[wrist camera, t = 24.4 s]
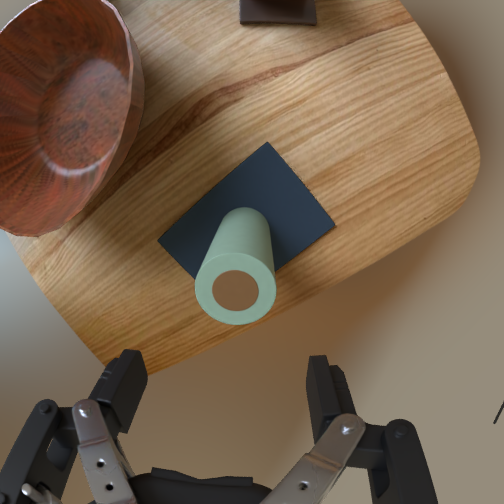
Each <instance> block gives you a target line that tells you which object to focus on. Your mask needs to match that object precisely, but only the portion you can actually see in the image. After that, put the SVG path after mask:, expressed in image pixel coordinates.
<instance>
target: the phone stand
mask: <svg viewBox="0 0 504 504" xmlns="http://www.w3.org/2000/svg"><path fill="white" fill-rule="evenodd" d="M253 23H273V24H298V25H311V26H316V24H317V22H316V10H315V0H240V24H253Z"/></svg>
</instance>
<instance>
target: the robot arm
mask: <svg viewBox="0 0 504 504" xmlns="http://www.w3.org/2000/svg"><path fill="white" fill-rule="evenodd" d="M147 380H148V375H147V371H146V368H145V364H144V361H143V358H142V354H141V352H140V351H139V350H130V349H124V350H123V352H122V354H121V355H120V357H119V358H114V359H113V360H112V361H111V362H109V363H108V364H107V366H106V368H105V370H104V372H103V373H102V375H101V377H100V379H99V380H98V382H97V383H96V385H95V387H94V389H93V390H92V392H91V394H90V396H89V397H88V399H83V400H80V401H78V402H77V403H76V404H75V405H74V406H73V407H58V405H57V404H56V403H55V401H53V400H50V399H45V400H42V401H40V402H38V403H37V404H36V406H35V407H34V409H33V411H32V412H31V414H30V416H29V418H28V419H27V421H26V423H25V425H24V427H23V428H22V431H21V432H20V434H19V436H18V438H17V440H16V441H15V444H14V445H13V447H12V449H11V452H10V453H9V455H8V457H7V459H6V462H5V464H4V466H3V468H2V470H1V472H0V504H62V502H61V497H62V494H63V491H64V488H65V485H66V483H67V479H68V477H69V474H70V471H71V468H72V466H73V463H74V461H75V458H76V455H77V453H78V452H79V455H80V459H81V462H82V465H83V468H84V471H85V474H86V477H87V480H88V483H89V485H90V488H91V491H92V494H93V496H94V499H95V500H94V501H92V502H90V503H88V504H321V503H322V501H323V500H324V499H325V497H326V496H327V494H328V493H329V492H330V490H331V489H332V487H333V486H334V485H335V483H336V482H337V480H338V479H339V477H340V476H341V474H342V473H343V471H344V470H345V468H346V467H347V466H348V467H356V468H365V469H367V471H368V477H369V482H370V489H371V496H372V502H373V504H438V501H437V497H436V493H435V489H434V486H433V482H432V479H431V475H430V472H429V468H428V466H427V462H426V459H425V456H424V452H423V449H422V446H421V443H420V440H419V437H418V434H417V432H416V429H415V427H414V425H413V424H412V423H411V422H409V421H407V420H404V419H396V420H393V421H391V422H389V423H388V424H387V426H380V425H371V424H368V423H366V422H364V421H363V419H361V418H360V417H359V416H358V415H357V414H356V411H355V407H354V404H353V401H352V397H351V394H350V391H349V389H348V384H347V382H346V378H345V375H344V372H343V371H342V370H341V369H340V368H339V367H338V366H337V365H331V366H329V364H328V360H327V357H326V355H319V356H310V357H309V363H308V370H307V377H306V392H307V398H308V404H309V410H310V417H311V424H312V430H313V438H314V444H315V446H314V447H313V448H312V450H311V451H310V452H309V453H305V454H304V455H303V456H302V457H301V458H300V460H299V461H298V462H297V463H296V464H295V466H294V467H293V468H292V469H291V470H290V471H289V473H288V474H287V475H286V476H285V477H284V478H283V479H282V480H281V482H280V483H279V484H278V485H277V486H276V487H275V488H274V489H273V490H271V489H270V488H268V487H265V486H263V485H260V484H256V483H253V478H252V477H233V476H225V477H218V478H210V479H197V478H194V477H191V476H188V475H185V474H183V473H180V472H177V471H173V470H166V469H161V468H154V467H152V471H151V473H144V474H140V475H137V476H136V475H135V473H134V472H133V470H132V468H131V466H130V464H129V462H128V460H127V458H126V456H125V454H124V451H123V449H122V447H121V445H120V442H119V440H118V438H117V436H118V433H119V432H122V433H126V434H127V433H128V430H129V428H130V425H131V423H132V420H133V417H134V415H135V412H136V410H137V407H138V405H139V402H140V400H141V397H142V395H143V392H144V390H145V388H146V385H147ZM503 408H504V402H503V404H502V406H501V408H500V410H499V412H498V414H497V416H496V418H495V420H494V422H493V423H494V424H495V423H496V421H497V420H498V417H499V415H500V413H501V412H502V409H503ZM52 439H53V440H52ZM51 440H52V442H51ZM50 442H51V444H50ZM49 444H50V446H49ZM48 446H49V448H48ZM47 448H48V451H47Z"/></svg>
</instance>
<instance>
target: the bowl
mask: <svg viewBox="0 0 504 504" xmlns="http://www.w3.org/2000/svg"><path fill="white" fill-rule="evenodd" d="M144 92H145V81H144V76H143V70H142V65H141V59H140V54H139V51H138V48H137V46H136V43H135V41H134V39H133V38H132V36H131V34H130V32H129V30H128V28H127V27H126V25H125V23H124V21H123V19H122V17H121V15H120V14H119V12H118V10H117V9H116V7H115V6H113V5H112V4H111V3H109V2H108V1H107V0H38V1H36V2H35V3H32V4H31V5H29V6H28V7H26V8H25V9H24V10H23V11H21V12H20V13H19V14H18V15H16V16H15V17H14V18H13V19H12V20H10V21H9V22H8V23H7V25H6V26H5V27H4V28H3V29H2V31H0V229H3V230H5V231H7V232H9V233H11V234H13V235H16V236H28V237H38V236H41V235H44V234H46V233H49V232H52V231H54V230H57V229H59V228H61V227H62V226H63V225H64V224H65V223H67V222H68V221H69V220H70V219H71V218H73V217H74V216H75V215H76V214H78V213H79V212H80V211H81V210H82V209H84V208H85V207H86V206H87V205H88V204H89V203H90V202H91V201H92V200H93V199H94V198H95V197H96V196H97V195H98V194H99V193H100V192H101V190H102V189H103V188H104V187H105V185H106V184H107V183H108V181H109V180H110V179H111V178H112V176H113V175H114V174H115V173H116V171H117V170H118V169H119V168H120V166H121V165H122V164H123V162H124V160H125V158H126V156H127V154H128V152H129V150H130V148H131V146H132V144H133V142H134V140H135V138H136V136H137V132H138V128H139V125H140V121H141V118H142V114H143V109H144Z"/></svg>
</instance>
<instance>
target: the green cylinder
mask: <svg viewBox="0 0 504 504" xmlns="http://www.w3.org/2000/svg"><path fill="white" fill-rule="evenodd" d="M276 291H277V290H276V279H275V271H274V262H273V254H272V246H271V237H270V229H269V225H268V222H267V220H266V218H265V217H264V216H263V215H262V214H261V213H260V212H258V211H257V210H255V209H252V208H247V207H241V208H237V209H234V210H232V211H230V212H229V213H228V214H227V215H226V216H225V217H224V218H223V220H222V222H221V224H220V226H219V228H218V230H217V232H216V235H215V237H214V239H213V241H212V243H211V245H210V248H209V250H208V252H207V254H206V256H205V259H204V261H203V263H202V265H201V268H200V270H199V272H198V274H197V277H196V280H195V293H196V297H197V300H198V302H199V304H200V306H201V307H202V308H203V310H204V311H205V312H206V313H207V314H208V315H210V316H211V317H212V318H214V319H216V320H218V321H220V322H223V323H226V324H232V325H242V324H248V323H251V322H254V321H256V320H258V319H260V318H261V317H263V316H264V315H265V314H266V313H267V312H268V311H269V310H270V309H271V307H272V305H273V303H274V301H275V298H276Z"/></svg>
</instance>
